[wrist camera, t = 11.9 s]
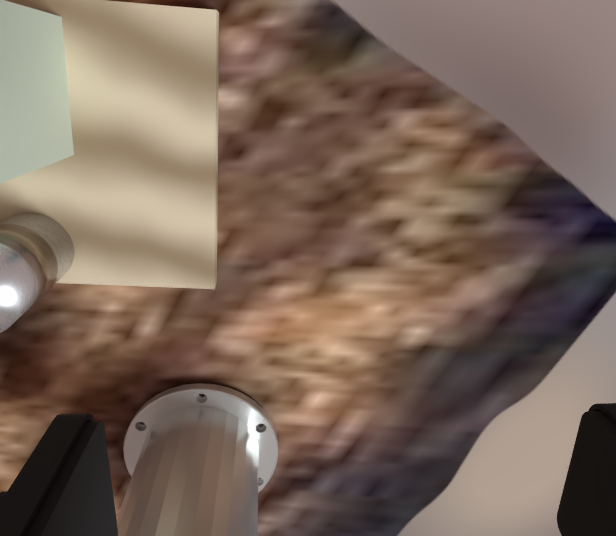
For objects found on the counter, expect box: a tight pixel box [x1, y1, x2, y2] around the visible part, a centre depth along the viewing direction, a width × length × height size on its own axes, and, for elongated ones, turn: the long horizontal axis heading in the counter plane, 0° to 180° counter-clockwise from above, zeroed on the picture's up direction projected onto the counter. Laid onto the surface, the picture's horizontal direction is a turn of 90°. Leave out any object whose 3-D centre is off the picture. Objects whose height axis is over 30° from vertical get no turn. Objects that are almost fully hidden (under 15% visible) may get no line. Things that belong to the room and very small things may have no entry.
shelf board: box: [0, 0, 219, 289], centre depth 32 cm, size 18×16×4 cm
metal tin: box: [0, 212, 74, 333], centre depth 31 cm, size 5×5×8 cm
